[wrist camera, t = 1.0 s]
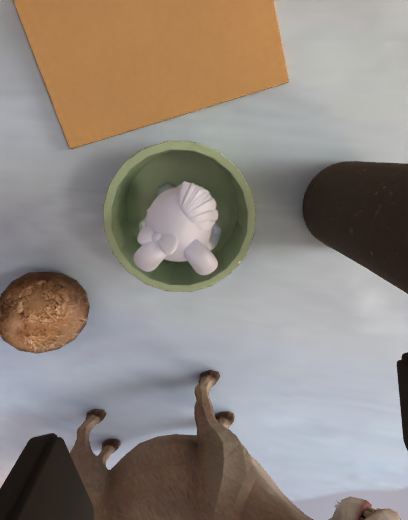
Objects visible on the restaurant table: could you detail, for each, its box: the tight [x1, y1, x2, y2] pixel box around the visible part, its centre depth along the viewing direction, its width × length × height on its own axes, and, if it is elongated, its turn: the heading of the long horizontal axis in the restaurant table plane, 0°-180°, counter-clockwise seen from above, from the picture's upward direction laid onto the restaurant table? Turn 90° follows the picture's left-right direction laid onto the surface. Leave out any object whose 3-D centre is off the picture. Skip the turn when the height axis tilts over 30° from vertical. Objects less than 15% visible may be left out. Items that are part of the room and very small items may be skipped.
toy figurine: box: [134, 181, 221, 275], centre depth 26 cm, size 7×6×12 cm
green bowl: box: [103, 141, 256, 292], centre depth 29 cm, size 12×12×6 cm
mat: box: [13, 0, 289, 149], centre depth 28 cm, size 20×12×1 cm, turn 106°
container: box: [303, 161, 408, 294], centre depth 23 cm, size 9×9×20 cm
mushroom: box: [0, 272, 89, 353], centre depth 32 cm, size 8×8×6 cm
